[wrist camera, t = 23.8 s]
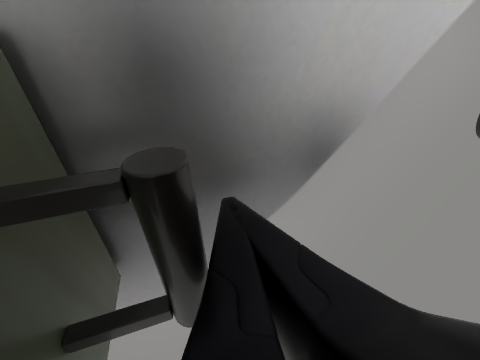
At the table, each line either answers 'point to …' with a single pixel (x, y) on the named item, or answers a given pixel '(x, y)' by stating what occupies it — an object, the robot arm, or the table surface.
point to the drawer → (85, 241)
